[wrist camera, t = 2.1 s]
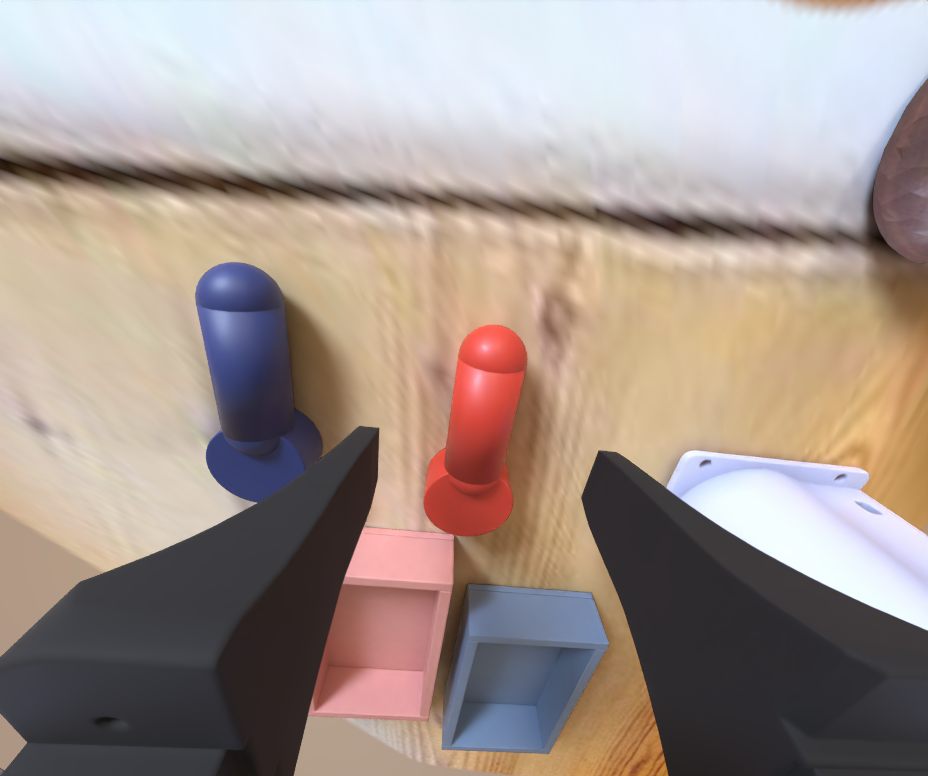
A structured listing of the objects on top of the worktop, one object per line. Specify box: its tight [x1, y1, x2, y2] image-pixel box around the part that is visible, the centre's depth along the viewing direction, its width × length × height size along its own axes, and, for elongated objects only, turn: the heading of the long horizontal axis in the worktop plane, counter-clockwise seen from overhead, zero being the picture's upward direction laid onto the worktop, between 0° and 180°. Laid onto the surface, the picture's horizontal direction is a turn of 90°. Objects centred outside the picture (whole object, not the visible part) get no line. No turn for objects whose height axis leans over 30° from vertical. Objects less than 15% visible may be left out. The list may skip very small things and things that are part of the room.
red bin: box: [308, 527, 454, 721], centre depth 20 cm, size 14×8×3 cm, turn 172°
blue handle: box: [195, 262, 322, 503], centre depth 14 cm, size 10×4×3 cm, turn 172°
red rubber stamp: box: [424, 325, 527, 536], centre depth 15 cm, size 10×4×3 cm, turn 172°
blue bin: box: [442, 584, 609, 754], centre depth 23 cm, size 14×8×3 cm, turn 172°
